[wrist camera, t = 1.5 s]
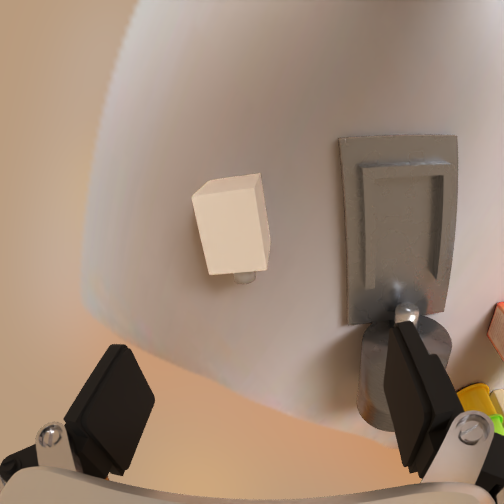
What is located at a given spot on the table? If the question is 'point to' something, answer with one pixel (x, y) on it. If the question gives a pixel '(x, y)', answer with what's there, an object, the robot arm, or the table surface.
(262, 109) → the table surface
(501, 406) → the toy refrigerator
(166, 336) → the table surface
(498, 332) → the cracker box
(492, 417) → the stacking cups
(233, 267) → the block
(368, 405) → the electric bell
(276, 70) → the table surface
